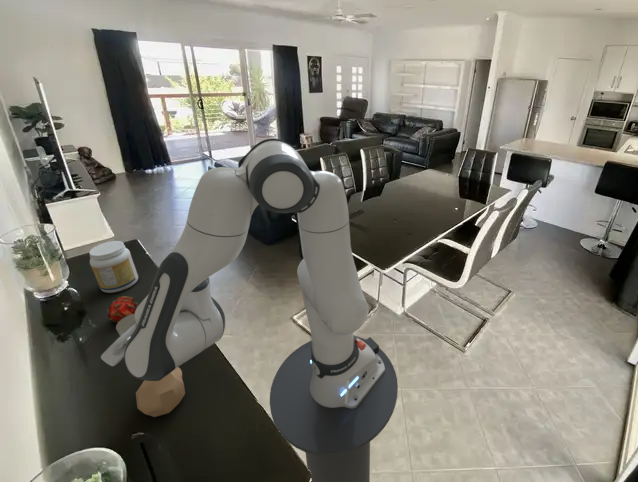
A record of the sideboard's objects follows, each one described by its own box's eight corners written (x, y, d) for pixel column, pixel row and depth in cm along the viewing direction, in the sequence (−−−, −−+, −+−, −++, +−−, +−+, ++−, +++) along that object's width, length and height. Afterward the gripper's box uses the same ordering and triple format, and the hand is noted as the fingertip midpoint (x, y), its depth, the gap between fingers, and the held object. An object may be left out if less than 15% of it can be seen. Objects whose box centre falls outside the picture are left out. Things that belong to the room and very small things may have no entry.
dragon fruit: (126, 311, 116) (135, 333, 109) (98, 310, 109) (105, 334, 102) (138, 291, 116) (147, 311, 109) (111, 289, 109) (118, 311, 102)
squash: (143, 434, 77) (124, 410, 73) (145, 379, 93) (130, 357, 90) (191, 405, 82) (176, 380, 78) (185, 357, 98) (172, 335, 94)
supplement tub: (105, 279, 130) (91, 243, 123) (141, 272, 135) (129, 237, 128) (96, 298, 120) (80, 260, 113) (135, 289, 125) (122, 252, 118)
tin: (155, 341, 86) (143, 309, 81) (160, 355, 82) (148, 322, 77) (127, 353, 82) (114, 321, 78) (131, 369, 78) (117, 335, 73)
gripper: (132, 357, 65) (107, 382, 71) (199, 292, 84) (175, 315, 89) (106, 338, 64) (82, 365, 70) (180, 276, 83) (156, 301, 88)
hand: (135, 337), depth 79 cm, fingers closed on tin, 6 cm apart
